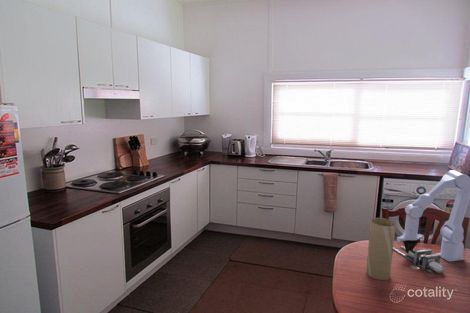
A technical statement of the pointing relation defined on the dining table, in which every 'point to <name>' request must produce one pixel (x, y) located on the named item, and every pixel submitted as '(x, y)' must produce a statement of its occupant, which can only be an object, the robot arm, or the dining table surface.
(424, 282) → the dining table surface
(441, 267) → the grey metal elongated piece
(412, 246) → the robot arm
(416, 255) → the grey metal angular piece
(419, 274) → the dining table surface
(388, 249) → the tube
